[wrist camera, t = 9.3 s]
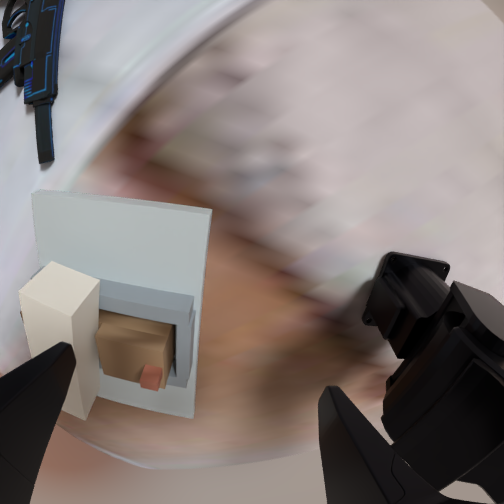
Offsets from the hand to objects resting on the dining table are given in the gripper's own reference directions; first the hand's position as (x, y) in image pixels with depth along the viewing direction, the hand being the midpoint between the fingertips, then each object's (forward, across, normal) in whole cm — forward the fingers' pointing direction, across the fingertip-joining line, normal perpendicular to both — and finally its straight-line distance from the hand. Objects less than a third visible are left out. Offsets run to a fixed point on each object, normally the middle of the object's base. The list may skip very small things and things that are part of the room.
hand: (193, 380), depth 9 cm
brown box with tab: (+11, +9, +8) cm, 16 cm away
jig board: (+12, +8, +9) cm, 17 cm away
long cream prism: (+8, +10, +8) cm, 16 cm away
